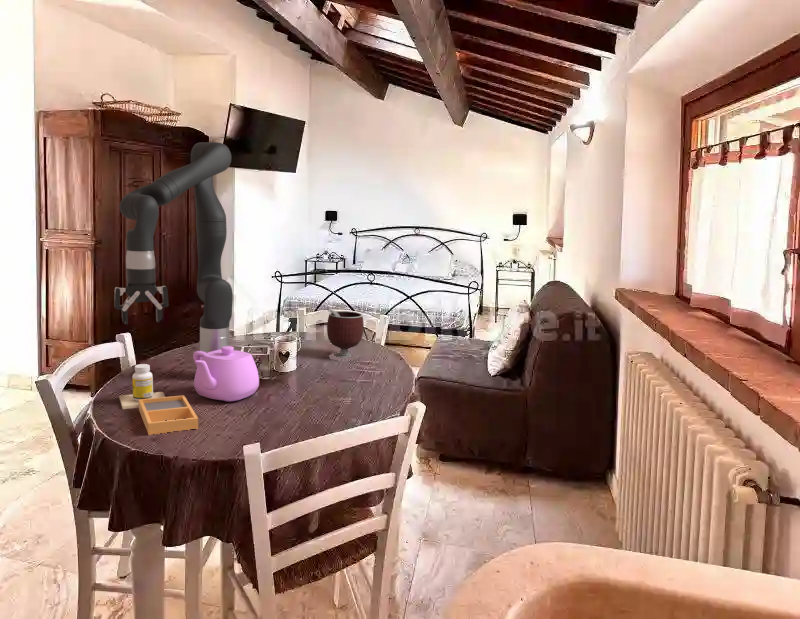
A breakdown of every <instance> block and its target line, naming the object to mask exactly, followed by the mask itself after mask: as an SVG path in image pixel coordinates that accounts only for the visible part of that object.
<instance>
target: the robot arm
mask: <svg viewBox="0 0 800 619" xmlns="http://www.w3.org/2000/svg"><path fill="white" fill-rule="evenodd" d="M231 163H232V152H231V151H230V148H229V146H227V145H226V144H224V143H222V142H215V141H214V142H213V141H212V142H211V141H207V142H205V141H204V142H203V141H202V142H200V141H199V142H197V143H195V144H194V145H193V147H192V148H191V151H190V163H189V164H186V165H184V166H181V167H178V168H175V169H173V170H171V171H168V172H167V173H165V174H163V175H161V176H160V177H158V178H157V179H155V180H154V181H153V182H151V183H149V184H147V185H144V186H141V187H139V188H137V189H135V190H132V191H131V192H129V193H126V195H125V196H123V198H122V199H121V200H120V202H119V211H120V213H121V215H122V216H123V217H124V218H125V219H129V220H134V221H135V220H136V221H135V224H134V228H130V229H129V230H128V231H127V232H126V237H125V239H126V240H125V241H126V242H125V243H126V256H125V270H126V272H125V273H126V285H125V287H119V286H115V287H114V295H113V296H114V301H113V307H114V308H115V310H119V311H121V321H122V323H124V325H128V324H129V317H128V316H129V312H128V309H129V308H130V306H131V305H132V304H133V303H148V302H152V304H154V306H155V317H156V318H155V320H156V322H157V323H161V321H162V320H163V310H164V308H168V307H169V306H170V304H169V292H168V290H169V289H168V287H167V286H166V285H161V286H157V284H156V257H155V251H154V250H155V245H154V242H155V240H154V235H155V231H156V227H157V223H158V219H159V212H160V209H159V207H161V206H165V205H167V204H169V203H171V202H172V201H174V199H176V198H178V197H179V196H180V195H182V194H184V193H185V192H186V191H188V190H189V189H192V188H193V187H194V200H195V201H194V202H195V228H196V245H197V258H198V260H197V261H198V262H197V263H198V266H197V267H198V269H197V280H196V281H197V283H196V293H197V296H198V297H199V299H200V300H201V301H202V302H203V315H202V316H201V317H200V319H199V351H203V352H206V353H209V352H212V351H215V350H220V349H221V347H223V346H230V323H231V322H230V321H231V320H232V316H233V298H234V297H233V296H234V295H233V294H234V293H233V289H232V285H231V284H230V283H229V282H228V281H227V280H226V279H223V275H222V266H221V265H222V262H221V261H222V256H223V252H224V249H225V245H226V240H227V233H228V231H227V229H228V228H227V215H226V213H225V209H224V206H222V204H221V203H222V202H220V199H219V198H218V196H217V194H216V191H215V187H214V176H216V175H219V174H220V173H223V172H225V171H226V170H228V169H229V167H230V165H231ZM157 292H159V294H161V296H162V298H161V299H162V302H161V303H159V301H158V300H157V299H156V298H155V297H154V296H155V295H156V293H157ZM124 293H126V294H127V295H128V297H127V298H126V299H125V301H124V302H123V304H121V296H123V294H124ZM201 358H202V356H201Z"/></svg>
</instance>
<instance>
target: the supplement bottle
mask: <svg viewBox="0 0 800 619" xmlns="http://www.w3.org/2000/svg"><path fill="white" fill-rule="evenodd" d="M134 371H135V372H134V373H133V374H132V377H131V378H132V394H133V399H134V400H135V401H139V399H149V398H153V393H154V381H153V380H154V378H153V376H154V375H153V373H152V372H151V365H150V364H147V363H141V364H136V365H135V366H134Z"/></svg>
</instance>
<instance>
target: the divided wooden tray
mask: <svg viewBox="0 0 800 619" xmlns="http://www.w3.org/2000/svg"><path fill="white" fill-rule="evenodd" d="M138 411H139V413H140V416H141V419H142V421H143V424H144V426H145V429H146V433H147V434H148V436H152V435H153V434H154V435H160V433H162V434H168V433H167V432H171V433H174V432H173V431H179V432H183V431H182V430H188V431H191V430H190V429H196V430H199V417H198V416H197V413H195V410H194V409H193V407H192V406H191V404H190V403H189V401H188V399H187V397H186V396H185V395H184V394H183V395H182V394H181V395H174V396H172V395H170V396H165V397H160V398H149V399H139V408H138ZM183 418H186V419H183ZM175 419H176V420H175ZM165 420H167V421H165ZM154 435H153V436H154Z"/></svg>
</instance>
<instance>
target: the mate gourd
mask: <svg viewBox="0 0 800 619" xmlns="http://www.w3.org/2000/svg"><path fill="white" fill-rule="evenodd" d="M327 311H329V313H328V318H327V323H326V324H327V325H326V334H327V338H328V340H329V342H330V343H331V345H332V346H335V347H337V348H339V349H340V351H339V352H340V353H337V352H335V353H336V354H334V356H336V357H340V358H347V357H348V356H349V357H350V356H351V354H350V353H351V352H350V351H349V349H351V348H354V347H358V345H359V343H361V341H362V338H363V336H364V326H365V325H364V317H363V316H364V315H363V313H360V312H357V311H350V310H349V311H348V310H342V311H341V310H337V311H335V310H334V309H331V308H327Z"/></svg>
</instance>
